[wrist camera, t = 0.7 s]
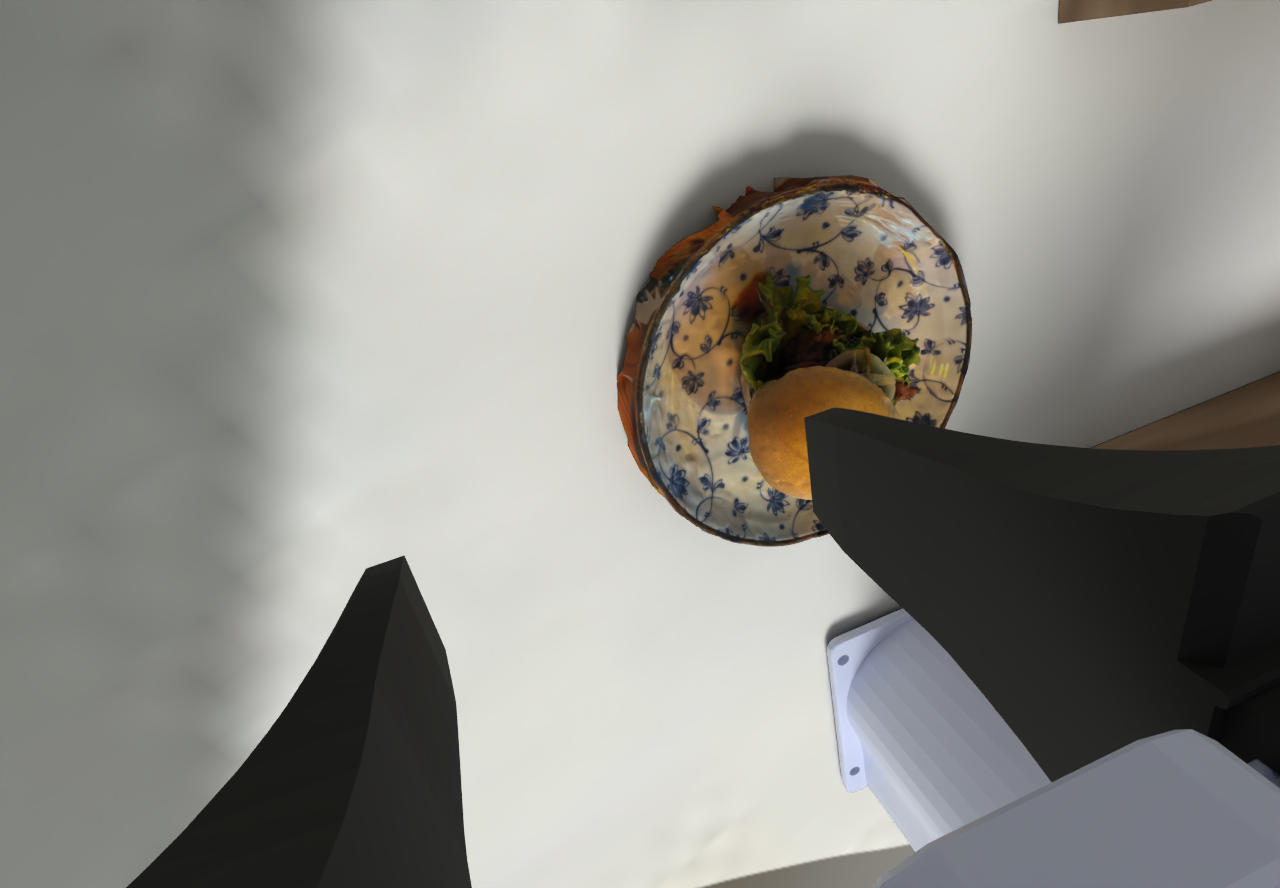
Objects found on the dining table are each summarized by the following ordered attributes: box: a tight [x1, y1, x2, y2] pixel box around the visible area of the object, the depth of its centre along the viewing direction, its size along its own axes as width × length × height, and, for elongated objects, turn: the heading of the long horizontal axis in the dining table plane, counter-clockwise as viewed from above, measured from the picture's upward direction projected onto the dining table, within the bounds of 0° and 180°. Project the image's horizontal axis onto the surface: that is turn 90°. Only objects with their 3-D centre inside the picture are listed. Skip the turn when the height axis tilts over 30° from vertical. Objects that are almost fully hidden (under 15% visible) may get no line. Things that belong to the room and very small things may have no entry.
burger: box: [617, 175, 972, 546], centre depth 20 cm, size 12×12×8 cm
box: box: [1058, 0, 1280, 451], centre depth 25 cm, size 18×16×4 cm
